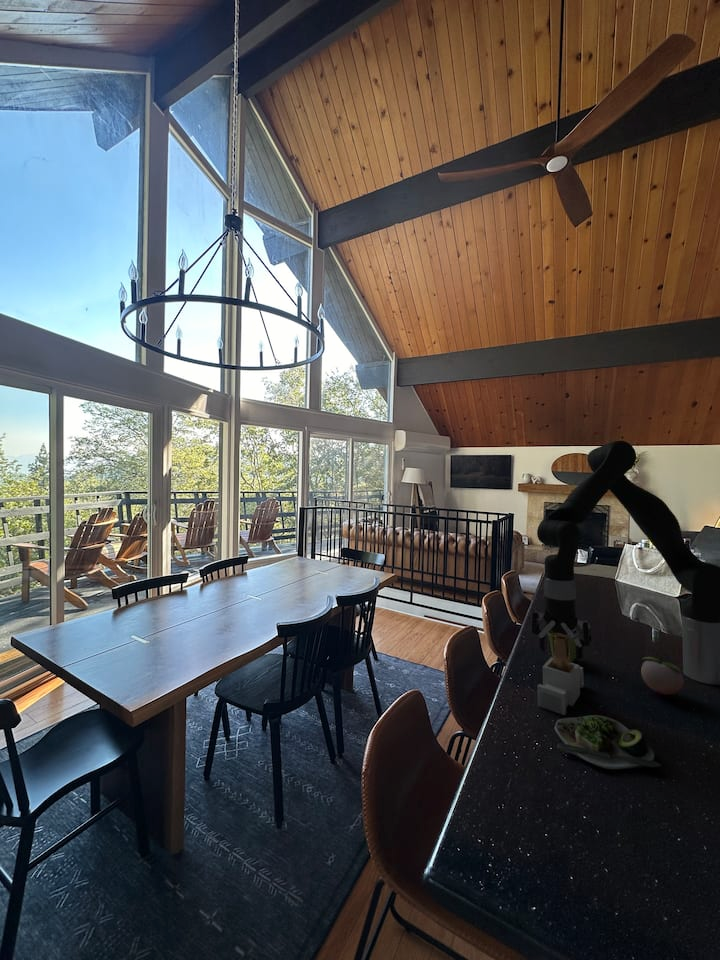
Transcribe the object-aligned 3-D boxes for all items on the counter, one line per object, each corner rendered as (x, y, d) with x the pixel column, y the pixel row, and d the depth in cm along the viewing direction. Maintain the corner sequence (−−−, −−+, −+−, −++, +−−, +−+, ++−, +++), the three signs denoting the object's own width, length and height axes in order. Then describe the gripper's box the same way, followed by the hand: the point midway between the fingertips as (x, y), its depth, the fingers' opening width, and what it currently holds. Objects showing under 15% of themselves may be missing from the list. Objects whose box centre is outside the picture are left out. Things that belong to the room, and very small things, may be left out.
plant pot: (546, 662, 127) (545, 635, 127) (547, 650, 135) (547, 625, 135) (579, 668, 122) (579, 640, 122) (579, 655, 131) (578, 629, 130)
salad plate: (582, 783, 77) (582, 759, 77) (533, 726, 95) (533, 707, 95) (674, 774, 79) (674, 751, 79) (610, 720, 97) (609, 701, 97)
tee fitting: (585, 686, 112) (584, 658, 112) (566, 716, 98) (565, 683, 98) (557, 678, 117) (556, 650, 117) (536, 705, 103) (535, 674, 103)
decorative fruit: (636, 693, 108) (635, 656, 108) (645, 683, 113) (644, 647, 113) (679, 708, 100) (679, 668, 100) (687, 696, 106) (687, 658, 106)
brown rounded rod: (571, 680, 108) (571, 635, 107) (567, 686, 105) (566, 640, 104) (555, 675, 110) (555, 632, 110) (551, 681, 107) (550, 636, 107)
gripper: (593, 596, 105) (594, 657, 105) (536, 587, 115) (538, 643, 115) (585, 603, 100) (587, 668, 100) (527, 593, 109) (529, 652, 109)
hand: (561, 655), depth 107 cm, fingers open, 8 cm apart
